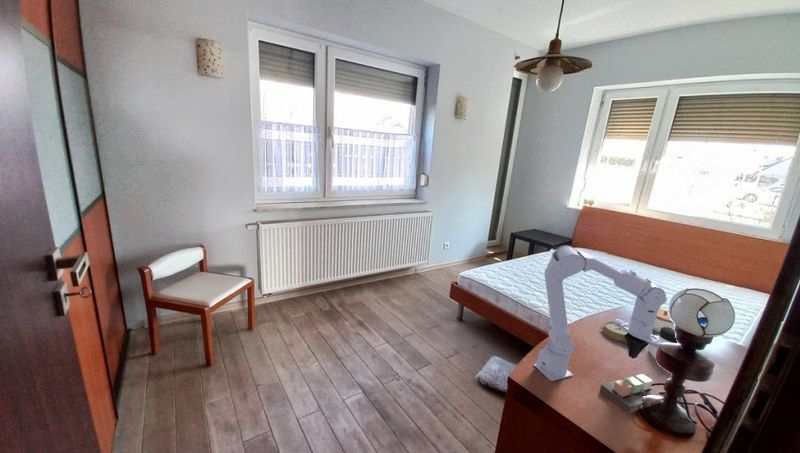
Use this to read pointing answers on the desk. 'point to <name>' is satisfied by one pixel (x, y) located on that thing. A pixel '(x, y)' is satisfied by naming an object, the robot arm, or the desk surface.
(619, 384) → the peach cube
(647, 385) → the white cube
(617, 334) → the alarm clock
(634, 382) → the pale green cube
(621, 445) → the desk surface
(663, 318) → the lidded jar
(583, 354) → the desk surface
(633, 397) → the console
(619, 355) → the desk surface
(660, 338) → the medicine bottle
